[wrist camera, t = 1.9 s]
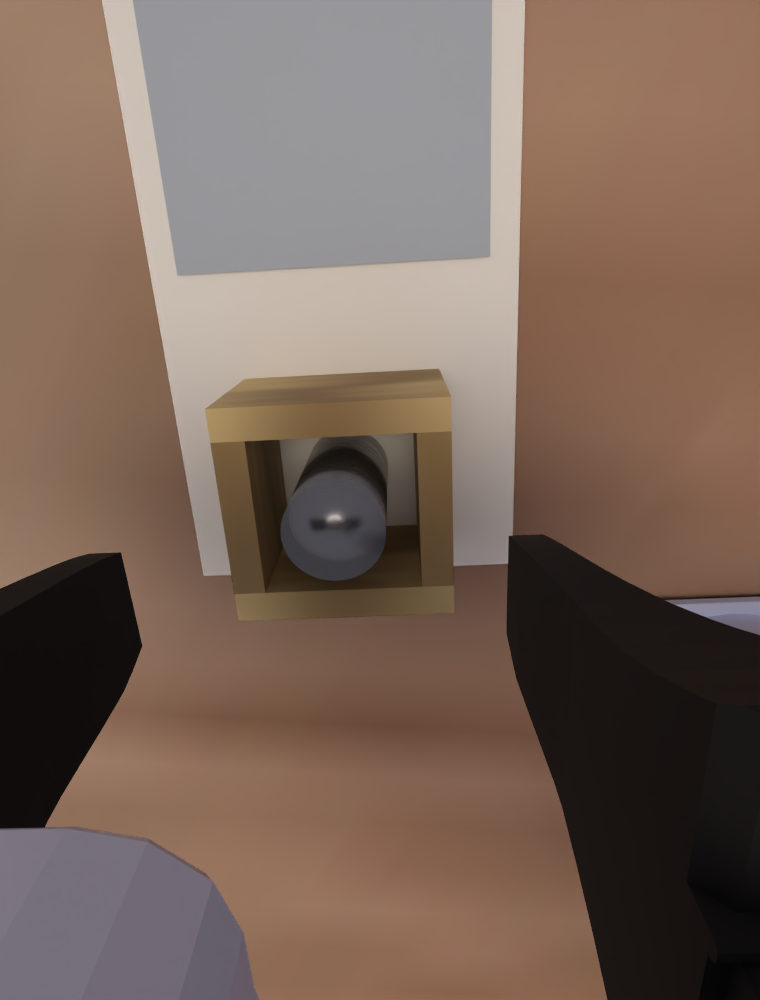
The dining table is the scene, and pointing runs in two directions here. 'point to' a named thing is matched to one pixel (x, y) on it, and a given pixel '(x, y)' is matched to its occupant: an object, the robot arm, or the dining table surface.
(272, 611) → the collar
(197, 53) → the board
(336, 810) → the dining table surface
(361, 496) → the post
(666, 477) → the dining table surface
